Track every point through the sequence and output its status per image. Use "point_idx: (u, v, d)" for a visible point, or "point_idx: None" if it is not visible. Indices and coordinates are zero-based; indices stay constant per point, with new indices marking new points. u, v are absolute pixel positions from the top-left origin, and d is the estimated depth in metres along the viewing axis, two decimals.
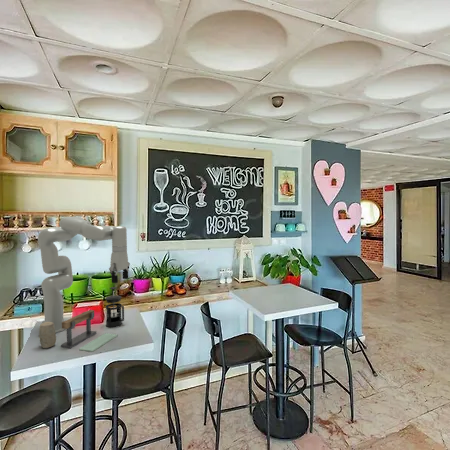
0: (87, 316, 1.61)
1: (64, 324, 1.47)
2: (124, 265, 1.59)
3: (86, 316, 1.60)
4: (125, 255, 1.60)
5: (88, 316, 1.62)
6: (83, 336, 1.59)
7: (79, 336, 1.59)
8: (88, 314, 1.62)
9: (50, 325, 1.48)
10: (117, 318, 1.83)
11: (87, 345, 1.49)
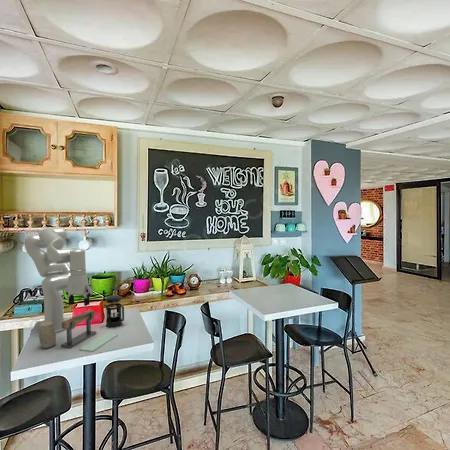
0: (87, 316, 1.61)
1: (64, 324, 1.47)
2: None
3: (86, 316, 1.60)
4: None
5: (88, 316, 1.62)
6: (83, 336, 1.59)
7: (79, 336, 1.59)
8: (88, 314, 1.62)
9: (50, 325, 1.48)
10: (117, 318, 1.83)
11: (87, 345, 1.49)
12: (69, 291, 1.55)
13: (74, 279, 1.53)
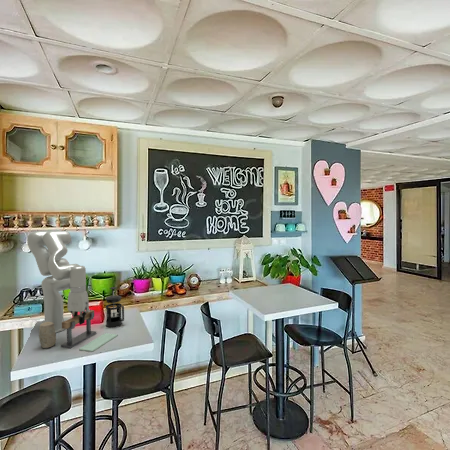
0: (87, 316, 1.61)
1: (64, 324, 1.47)
2: None
3: (86, 316, 1.60)
4: None
5: (88, 316, 1.62)
6: (83, 336, 1.59)
7: (79, 336, 1.59)
8: (88, 314, 1.62)
9: (50, 325, 1.48)
10: (117, 318, 1.83)
11: (87, 345, 1.49)
12: (69, 307, 1.55)
13: (74, 296, 1.54)
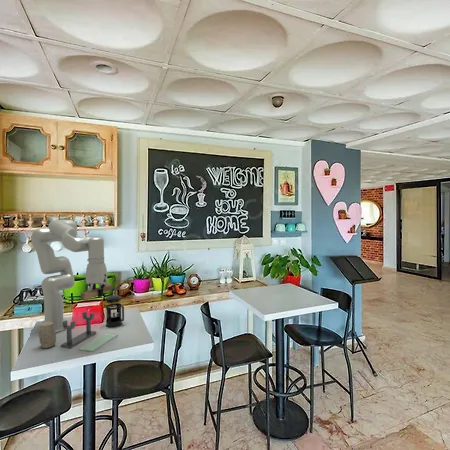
0: (105, 289, 1.57)
1: (83, 295, 1.44)
2: None
3: (104, 289, 1.57)
4: None
5: (106, 289, 1.58)
6: (83, 336, 1.59)
7: (79, 336, 1.59)
8: (106, 287, 1.58)
9: (50, 325, 1.48)
10: (117, 318, 1.83)
11: (87, 345, 1.49)
12: (87, 280, 1.51)
13: (92, 268, 1.50)
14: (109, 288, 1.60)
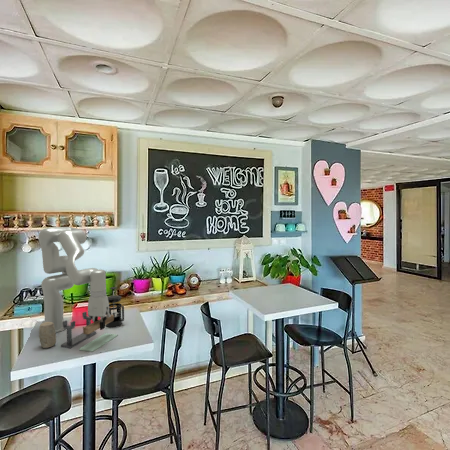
0: (107, 321, 1.58)
1: (85, 329, 1.44)
2: None
3: (106, 321, 1.57)
4: None
5: (108, 321, 1.58)
6: (83, 336, 1.59)
7: (79, 336, 1.59)
8: (108, 319, 1.58)
9: (50, 325, 1.48)
10: (117, 318, 1.83)
11: (87, 345, 1.49)
12: (89, 312, 1.52)
13: (94, 301, 1.51)
14: (111, 319, 1.61)
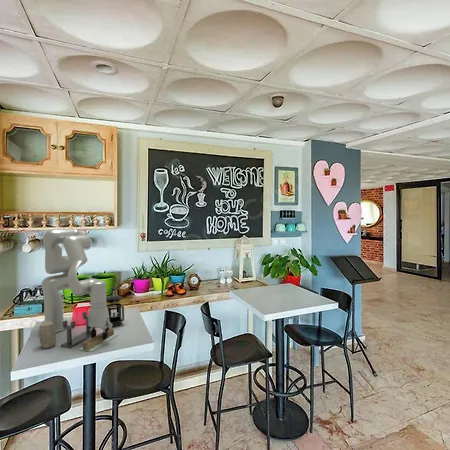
0: None
1: (85, 345, 1.44)
2: None
3: None
4: None
5: (108, 335, 1.59)
6: (83, 336, 1.59)
7: (79, 336, 1.59)
8: (108, 333, 1.59)
9: (50, 325, 1.48)
10: (117, 318, 1.83)
11: None
12: (89, 323, 1.52)
13: (95, 312, 1.51)
14: (111, 333, 1.61)
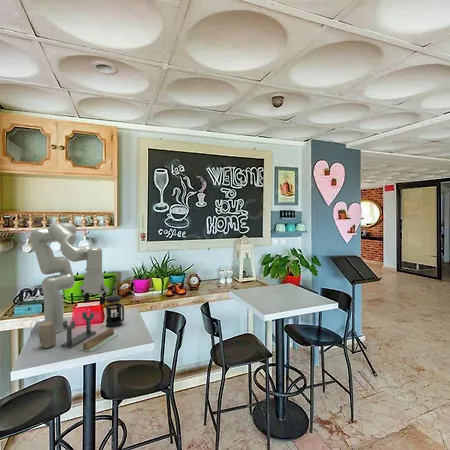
0: (107, 335, 1.58)
1: (85, 345, 1.44)
2: None
3: (106, 335, 1.57)
4: None
5: (108, 335, 1.59)
6: (83, 336, 1.59)
7: (79, 336, 1.59)
8: (108, 333, 1.59)
9: (50, 325, 1.48)
10: (117, 318, 1.83)
11: None
12: (85, 289, 1.53)
13: (90, 277, 1.52)
14: (111, 333, 1.61)
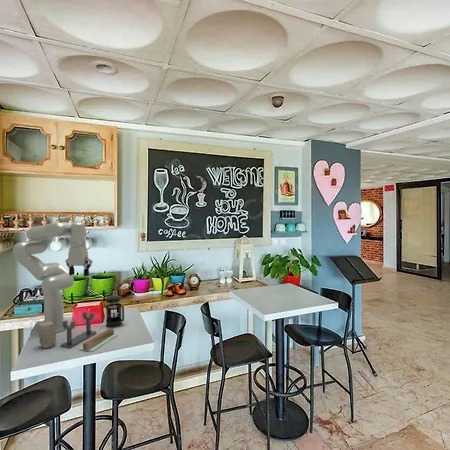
0: (107, 335, 1.58)
1: (85, 345, 1.44)
2: None
3: (106, 335, 1.57)
4: None
5: (108, 335, 1.59)
6: (83, 336, 1.59)
7: (79, 336, 1.59)
8: (108, 333, 1.59)
9: (50, 325, 1.48)
10: (117, 318, 1.83)
11: None
12: (70, 262, 1.62)
13: (74, 250, 1.61)
14: (111, 333, 1.61)
